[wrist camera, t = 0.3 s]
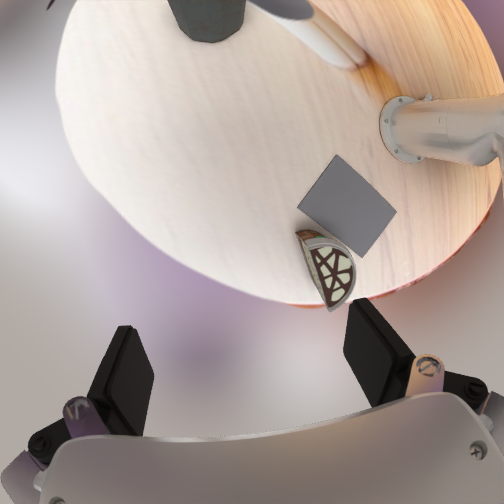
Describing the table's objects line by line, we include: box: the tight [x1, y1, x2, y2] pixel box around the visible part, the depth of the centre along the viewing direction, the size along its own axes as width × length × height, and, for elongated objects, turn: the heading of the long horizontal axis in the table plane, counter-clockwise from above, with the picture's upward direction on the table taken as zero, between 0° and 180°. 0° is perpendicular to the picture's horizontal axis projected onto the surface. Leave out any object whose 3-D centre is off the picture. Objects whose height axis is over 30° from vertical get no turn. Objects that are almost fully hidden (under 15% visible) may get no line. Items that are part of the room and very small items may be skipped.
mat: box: [297, 155, 397, 258], centre depth 44 cm, size 11×16×1 cm
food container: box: [295, 230, 356, 312], centre depth 42 cm, size 12×6×10 cm, turn 22°
